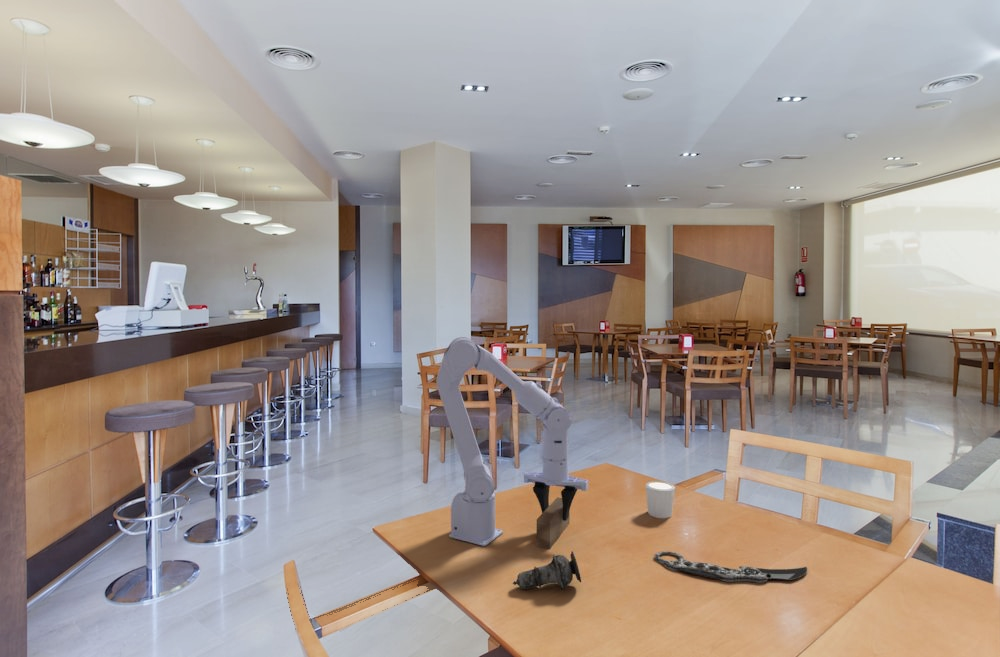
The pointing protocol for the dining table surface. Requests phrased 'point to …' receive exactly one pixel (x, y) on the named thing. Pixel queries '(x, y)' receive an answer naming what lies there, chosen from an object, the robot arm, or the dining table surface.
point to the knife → (729, 570)
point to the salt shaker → (550, 573)
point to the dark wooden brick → (551, 524)
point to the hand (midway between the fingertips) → (555, 517)
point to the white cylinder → (660, 499)
